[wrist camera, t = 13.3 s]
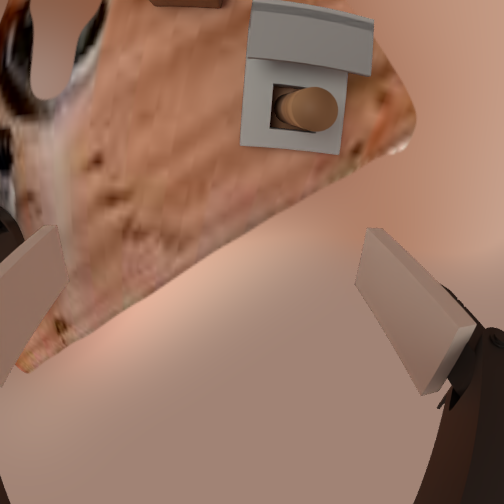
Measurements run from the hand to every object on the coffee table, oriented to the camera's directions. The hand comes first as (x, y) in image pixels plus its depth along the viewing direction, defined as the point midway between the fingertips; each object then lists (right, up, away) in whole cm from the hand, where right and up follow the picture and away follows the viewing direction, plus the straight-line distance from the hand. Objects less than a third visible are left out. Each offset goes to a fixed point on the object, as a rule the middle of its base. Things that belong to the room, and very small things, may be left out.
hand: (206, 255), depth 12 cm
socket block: (+7, +21, +23) cm, 32 cm away
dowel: (+7, +18, +24) cm, 31 cm away
